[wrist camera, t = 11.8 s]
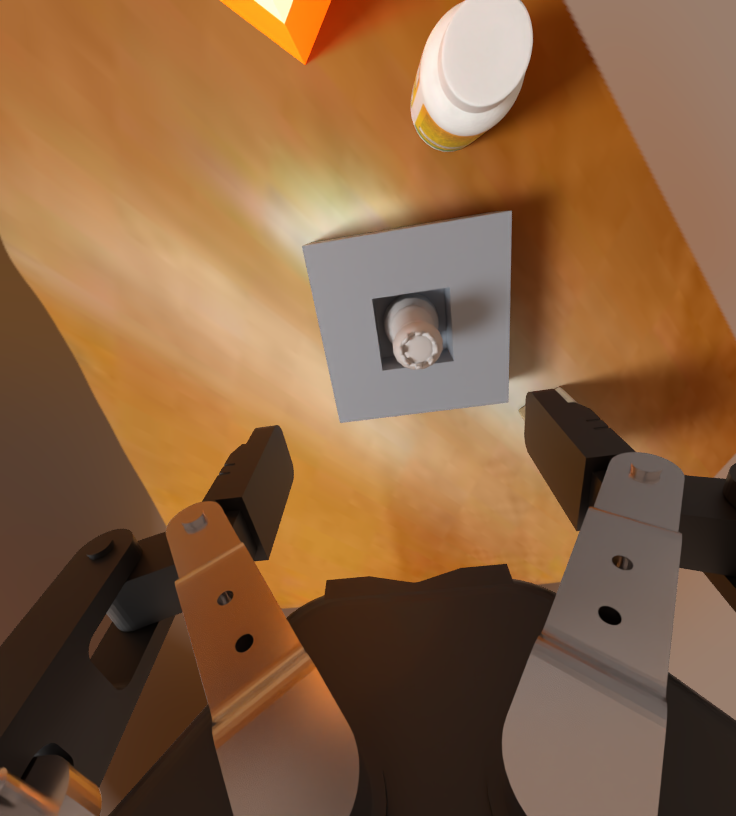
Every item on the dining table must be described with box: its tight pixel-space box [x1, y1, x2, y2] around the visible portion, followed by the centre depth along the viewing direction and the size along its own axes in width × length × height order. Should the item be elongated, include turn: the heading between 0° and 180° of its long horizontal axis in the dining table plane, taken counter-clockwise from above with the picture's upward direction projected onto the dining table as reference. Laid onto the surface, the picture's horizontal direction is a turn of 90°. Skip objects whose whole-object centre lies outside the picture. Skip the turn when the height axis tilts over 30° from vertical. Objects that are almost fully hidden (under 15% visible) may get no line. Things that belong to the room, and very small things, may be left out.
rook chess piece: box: [383, 293, 443, 370], centre depth 27 cm, size 4×4×8 cm
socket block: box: [302, 211, 512, 423], centre depth 30 cm, size 14×14×4 cm
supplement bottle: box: [411, 0, 533, 152], centre depth 21 cm, size 5×5×10 cm
